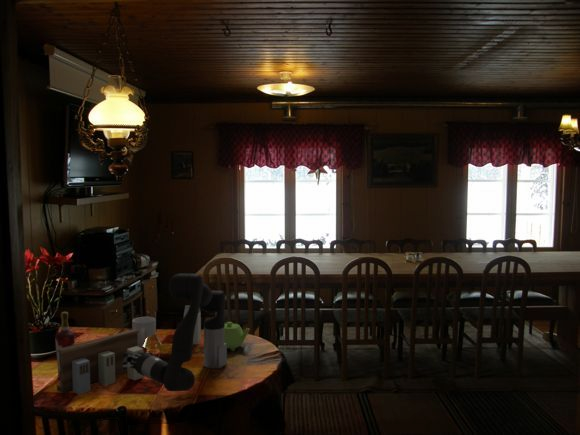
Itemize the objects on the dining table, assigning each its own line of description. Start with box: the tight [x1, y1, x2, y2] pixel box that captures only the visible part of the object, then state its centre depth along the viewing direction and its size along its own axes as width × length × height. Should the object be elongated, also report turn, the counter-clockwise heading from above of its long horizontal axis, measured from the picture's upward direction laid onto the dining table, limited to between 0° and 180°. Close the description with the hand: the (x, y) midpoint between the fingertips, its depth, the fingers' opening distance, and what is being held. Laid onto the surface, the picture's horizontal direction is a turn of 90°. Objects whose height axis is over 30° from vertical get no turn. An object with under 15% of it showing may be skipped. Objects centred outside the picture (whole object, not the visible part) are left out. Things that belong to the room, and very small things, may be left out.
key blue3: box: [72, 358, 91, 396], centre depth 183 cm, size 5×4×12 cm
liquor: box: [54, 311, 76, 382], centre depth 194 cm, size 7×7×28 cm
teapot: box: [225, 321, 250, 352], centre depth 233 cm, size 20×13×13 cm
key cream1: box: [126, 346, 145, 381], centre depth 197 cm, size 5×4×12 cm
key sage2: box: [98, 351, 116, 387], centre depth 191 cm, size 5×4×12 cm
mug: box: [131, 316, 157, 348], centre depth 234 cm, size 15×11×13 cm
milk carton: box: [183, 304, 202, 345], centre depth 240 cm, size 7×7×19 cm
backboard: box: [56, 329, 139, 395], centre depth 195 cm, size 6×33×17 cm, turn 140°
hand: (125, 354), depth 182 cm, fingers closed
